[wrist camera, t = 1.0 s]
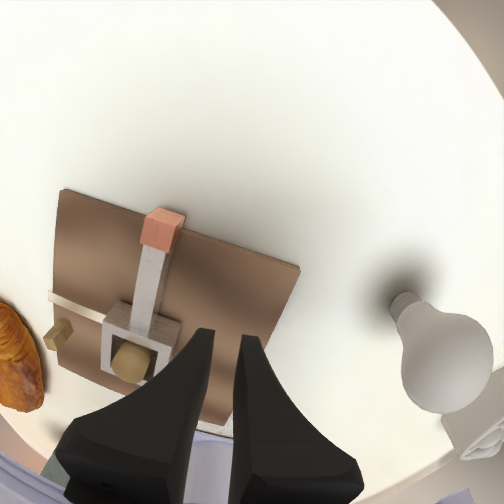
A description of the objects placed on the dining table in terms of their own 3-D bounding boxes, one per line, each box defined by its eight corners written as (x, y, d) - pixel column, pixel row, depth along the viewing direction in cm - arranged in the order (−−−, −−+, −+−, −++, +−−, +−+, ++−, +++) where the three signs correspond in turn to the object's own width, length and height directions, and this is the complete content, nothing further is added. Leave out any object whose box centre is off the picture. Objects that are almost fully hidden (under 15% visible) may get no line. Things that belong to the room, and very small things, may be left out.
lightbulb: (355, 289, 21) (417, 399, 10) (423, 251, 19) (516, 330, 9) (376, 343, 22) (425, 446, 12) (436, 310, 21) (505, 394, 11)
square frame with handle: (169, 368, 22) (161, 392, 19) (113, 347, 22) (100, 369, 19) (210, 224, 18) (202, 238, 15) (136, 199, 17) (117, 209, 15)
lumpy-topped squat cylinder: (496, 404, 28) (519, 440, 20) (432, 436, 29) (451, 480, 21) (519, 357, 25) (550, 394, 16) (451, 391, 26) (481, 442, 17)
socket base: (224, 420, 26) (220, 461, 21) (58, 358, 24) (34, 389, 19) (302, 260, 20) (315, 298, 15) (61, 180, 18) (16, 194, 13)
